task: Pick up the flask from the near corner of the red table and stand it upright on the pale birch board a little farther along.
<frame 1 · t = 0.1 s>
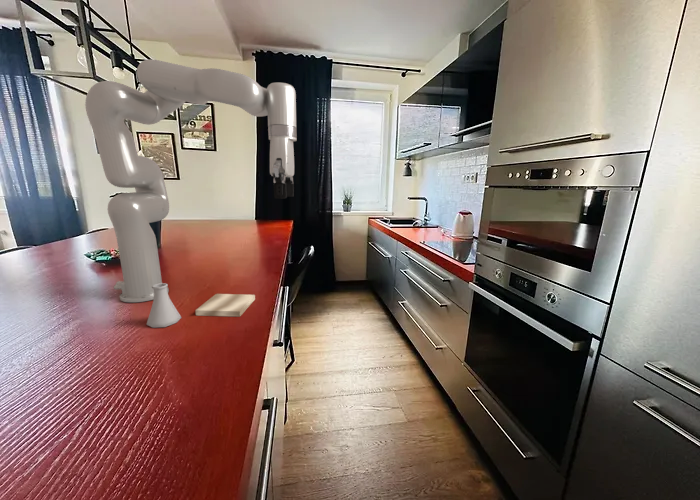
hand: (284, 197, 84), 31 cm above the kitchen island, tool pointing down, fingers open, 9 cm apart
flask: (164, 322, 75), on the kitchen island
birch board: (227, 306, 85), on the kitchen island
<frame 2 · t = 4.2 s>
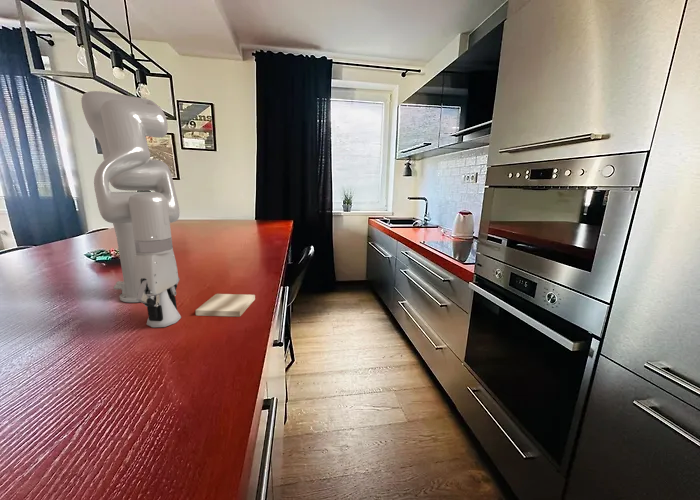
hand: (163, 314, 75), 2 cm above the kitchen island, tool pointing down, fingers closed on flask, 4 cm apart
flask: (164, 322, 75), on the kitchen island, touching gripper
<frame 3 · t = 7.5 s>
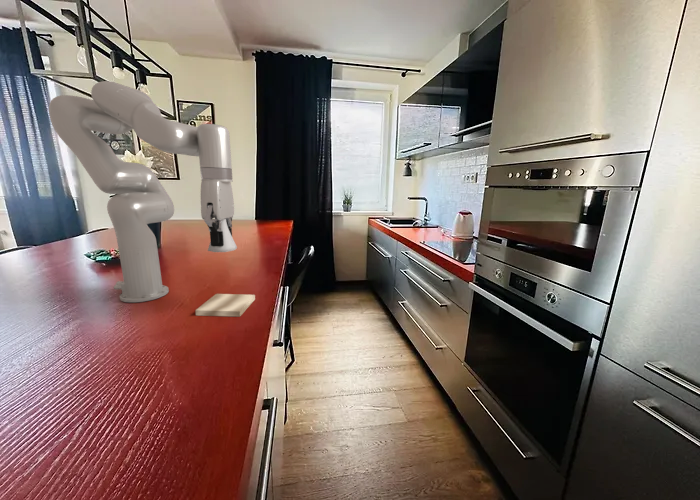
hand: (222, 243, 81), 19 cm above the kitchen island, tool pointing down, fingers closed on flask, 4 cm apart
flask: (222, 250, 81), point 17 cm above the kitchen island, touching gripper
when the fingers open (5 cm above the kitchen island, at t = 10.9 s): flask drops 2 cm, resting on birch board.
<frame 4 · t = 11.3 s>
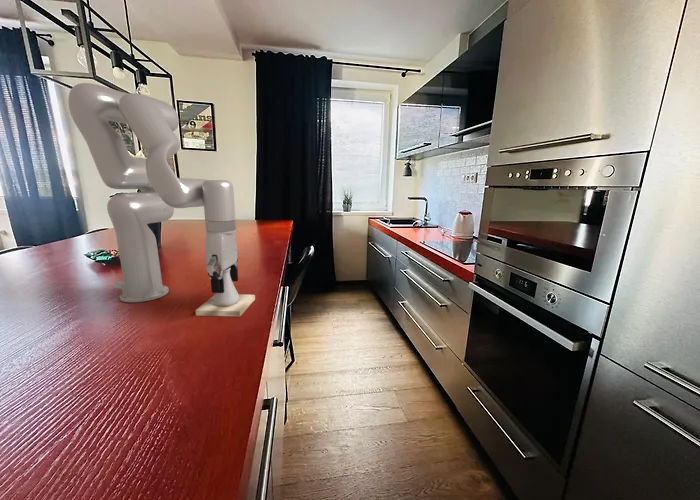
hand: (225, 286, 83), 6 cm above the kitchen island, tool pointing down, fingers open, 9 cm apart
flask: (226, 302, 85), point 1 cm above the kitchen island, touching birch board
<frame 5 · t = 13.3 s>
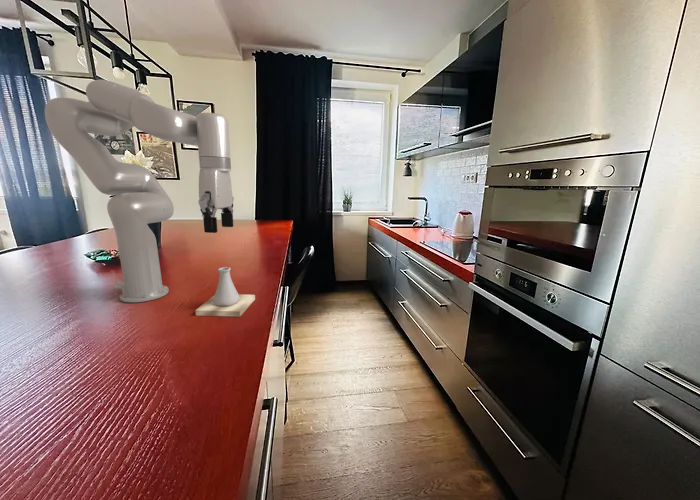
hand: (219, 229, 81), 22 cm above the kitchen island, tool pointing down, fingers open, 9 cm apart
nothing on the kitchen island moved.
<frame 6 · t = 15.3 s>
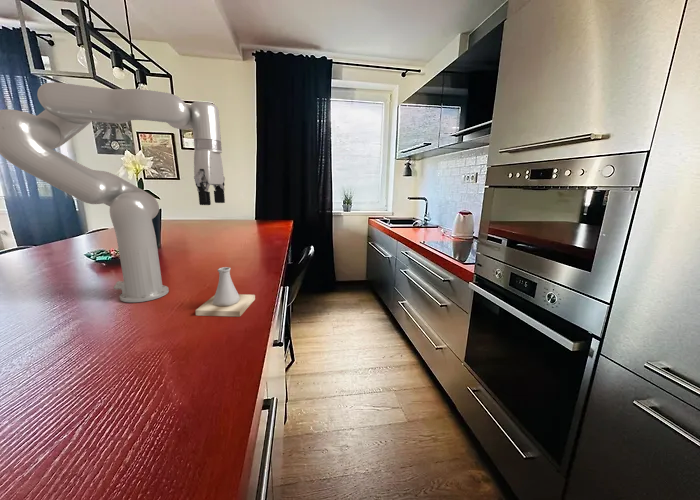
hand: (212, 203, 93), 28 cm above the kitchen island, tool pointing down, fingers open, 9 cm apart
nothing on the kitchen island moved.
at the end: flask 0.1 cm off-centre on the birch board, point 1.3 cm above the birch board's base; flask tilted 0°; the gripper is holding nothing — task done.
